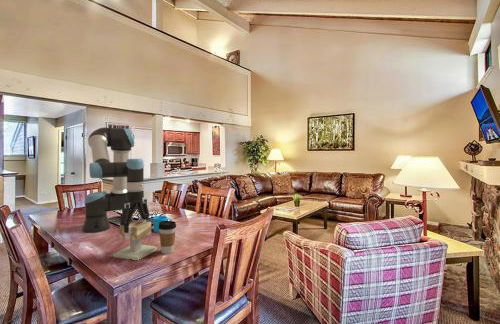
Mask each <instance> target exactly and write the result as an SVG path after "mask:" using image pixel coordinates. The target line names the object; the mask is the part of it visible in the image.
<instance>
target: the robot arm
mask: <svg viewBox="0 0 500 324" xmlns="http://www.w3.org/2000/svg"><path fill="white" fill-rule="evenodd" d="M87 142H88V146H89V147H90V148H91V157H92V162H90V163H89V177H90V178H92V179H108V178H113V179H112V188H111V189H110V193H107V191H96V192H95V191H94V192H91V193H89V194H87V195H85V197H84V204H85V205H84V207H85V208H84V211H85V212H84V215H85V219H84V222H83V224H82V228H81V229H82V230H81V231H82V232H83V233H87V234H88V233H89V234H92V233H94V234H95V233H102V232H105V231H107V230H109V229H110V228H111V222H109V218H108V215H107V212H115V211H122V213H121V217H120V224H119V226H120V225H122V226H124V233H125V239H124V240H129V241H130V239H131V225H129V224H130V222H131V221H132V218H133V215H134V213H135V212H136V210H137V212H138V213H139V215H140V218H141V219H140V221H146V222H147V220H149V218H150V216H151V215H150V212H149V207H148V199H146V198H145V197H144V195H145V191H144V187H145V186H144V182H145V181H144V174H145V172H144V167H145V165H144V160H143V159H142V158H129V153H130V152H131V151H132V148H134V147H135V137H134V134H133V130H131V128H124V127H99V128H97V129H95V130H93V131H92V132H91V133H90V134H89V136H88V139H87ZM109 147H110V150H111V152H112V153H113V159H112V160H113V162H112V161H111V160H110V155H109V154H110V153H109V150H108V148H109Z"/></svg>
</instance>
